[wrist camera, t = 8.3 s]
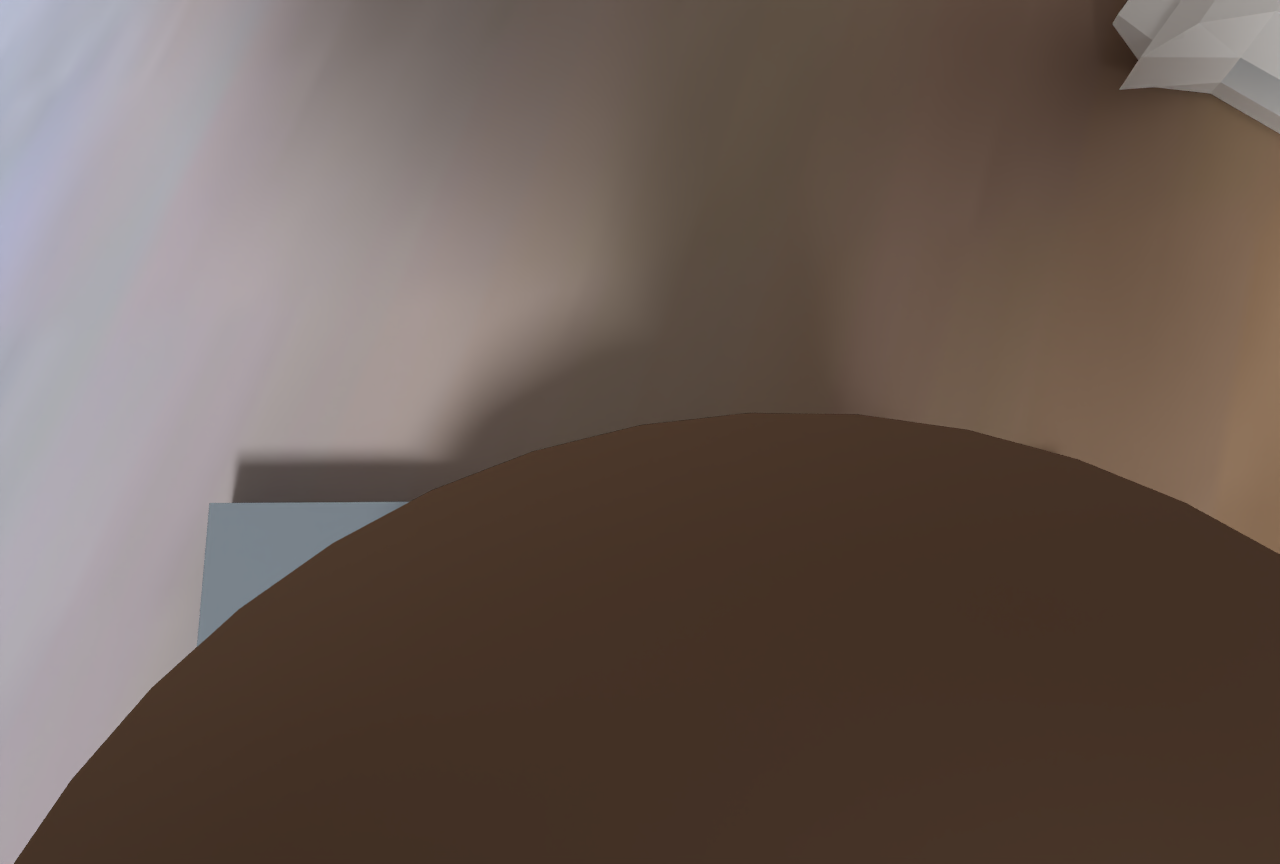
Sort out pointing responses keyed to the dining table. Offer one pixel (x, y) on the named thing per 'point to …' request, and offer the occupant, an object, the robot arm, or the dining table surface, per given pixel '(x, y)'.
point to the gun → (1208, 50)
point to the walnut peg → (726, 670)
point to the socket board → (268, 547)
